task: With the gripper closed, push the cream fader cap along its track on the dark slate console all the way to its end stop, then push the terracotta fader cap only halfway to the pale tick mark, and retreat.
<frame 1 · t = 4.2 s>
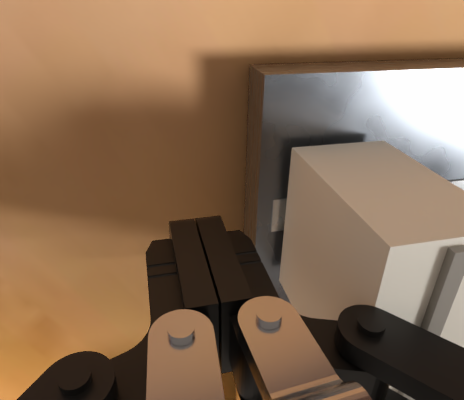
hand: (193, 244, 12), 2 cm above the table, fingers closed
console board: (367, 287, 18), on the table
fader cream: (369, 263, 11), point 5 cm above the table, slide at 0.3 cm, touching gripper
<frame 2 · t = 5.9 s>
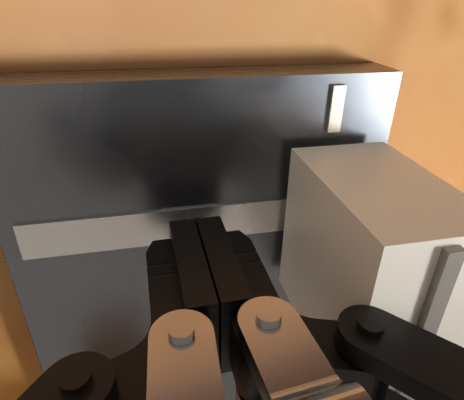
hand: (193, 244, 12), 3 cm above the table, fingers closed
console board: (201, 313, 17), on the table
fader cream: (367, 263, 11), point 4 cm above the table, slide at 8.1 cm, touching gripper
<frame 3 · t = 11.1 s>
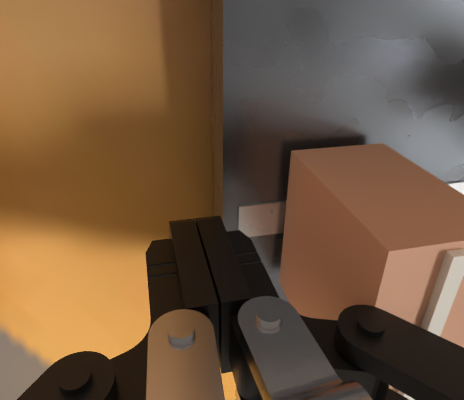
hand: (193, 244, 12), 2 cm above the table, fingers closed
fader terracotta: (368, 266, 11), point 5 cm above the table, slide at 1.5 cm, touching gripper
console board: (397, 30, 12), on the table
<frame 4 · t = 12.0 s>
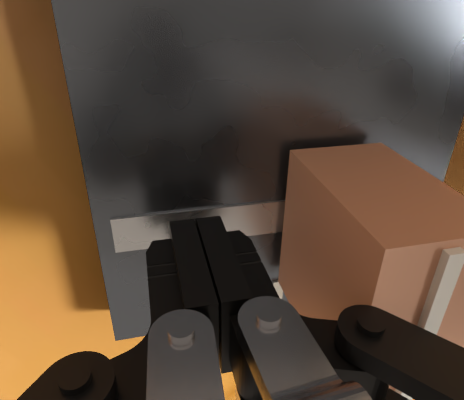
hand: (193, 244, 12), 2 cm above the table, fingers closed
fader terracotta: (366, 265, 11), point 5 cm above the table, slide at 5.4 cm, touching gripper
console board: (280, 31, 12), on the table
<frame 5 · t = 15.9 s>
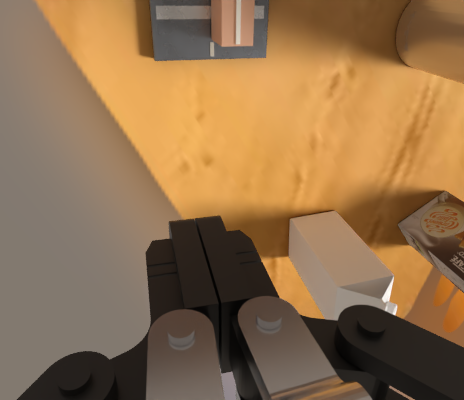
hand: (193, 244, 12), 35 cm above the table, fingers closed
fader terracotta: (231, 14, 37), point 5 cm above the table, slide at 5.4 cm
milk carton: (310, 232, 59), on the table
coffee box: (426, 217, 63), on the table
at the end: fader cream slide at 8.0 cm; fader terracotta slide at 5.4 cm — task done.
